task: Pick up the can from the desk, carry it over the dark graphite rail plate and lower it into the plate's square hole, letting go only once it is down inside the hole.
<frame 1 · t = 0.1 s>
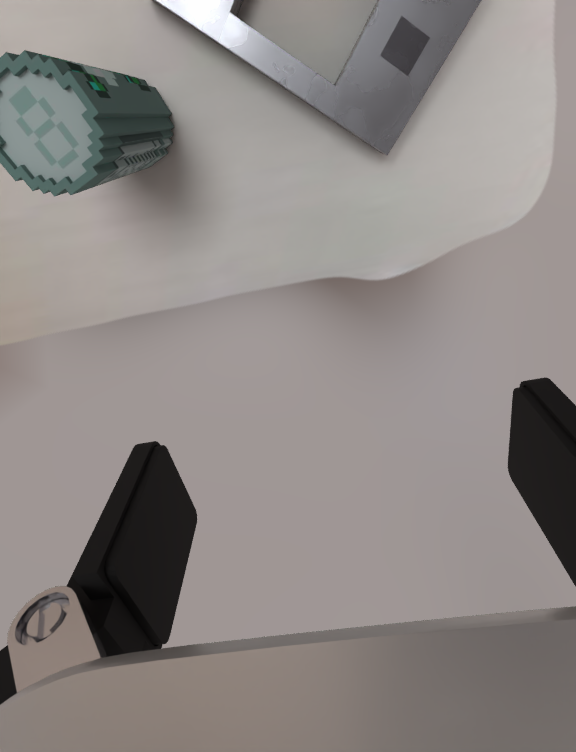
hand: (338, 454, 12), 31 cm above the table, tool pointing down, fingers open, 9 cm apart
can: (135, 123, 35), on the table
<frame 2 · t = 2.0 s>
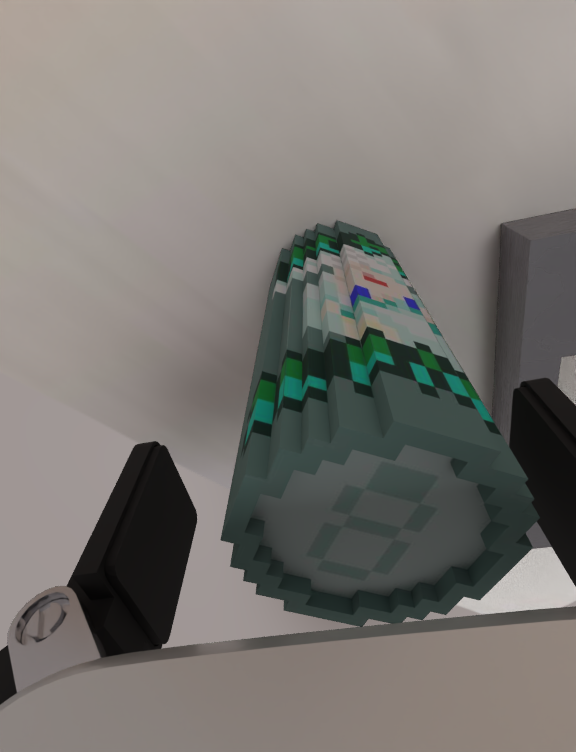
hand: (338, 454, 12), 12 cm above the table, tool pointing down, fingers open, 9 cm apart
can: (333, 285, 22), on the table
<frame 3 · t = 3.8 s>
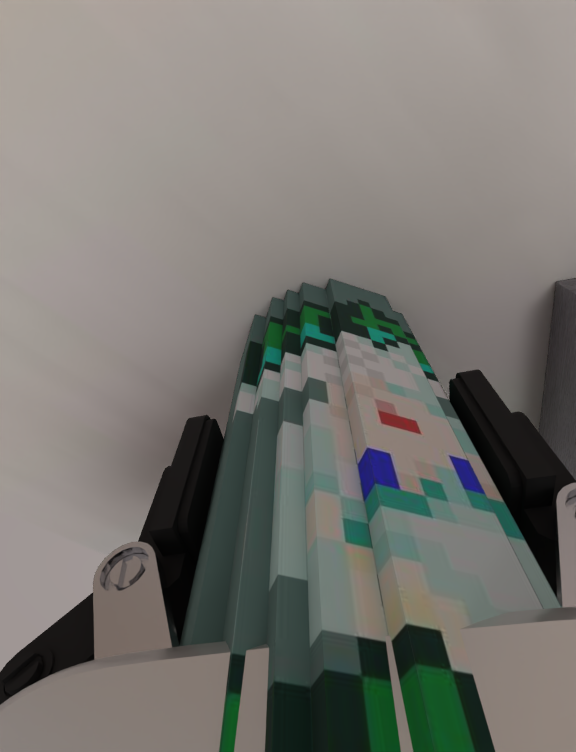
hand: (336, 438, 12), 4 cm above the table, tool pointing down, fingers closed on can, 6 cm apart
can: (325, 359, 16), on the table, touching gripper
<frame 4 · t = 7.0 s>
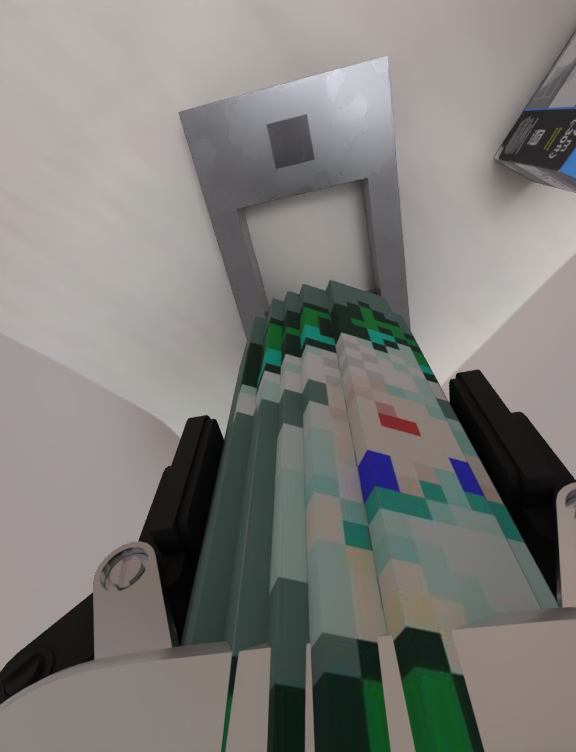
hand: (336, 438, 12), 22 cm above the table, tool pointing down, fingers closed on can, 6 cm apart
rail plate: (311, 247, 31), on the table
can: (325, 360, 16), point 18 cm above the table, touching gripper
label tape cartridge: (559, 101, 27), on the table
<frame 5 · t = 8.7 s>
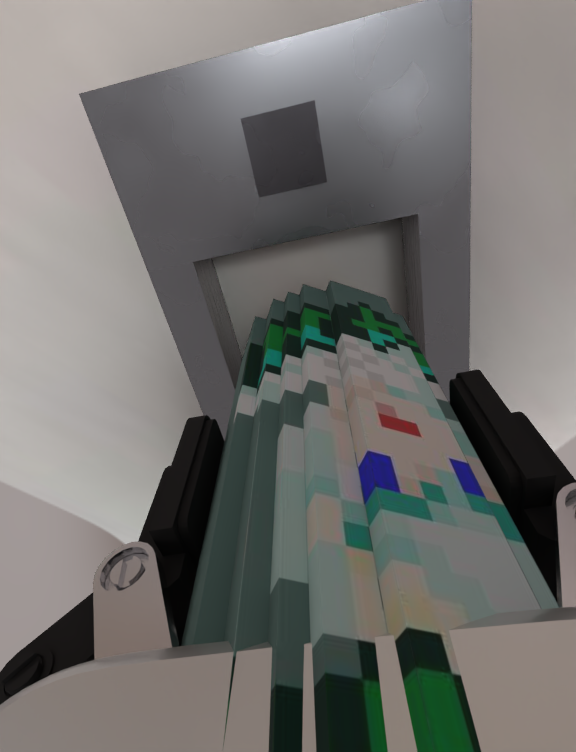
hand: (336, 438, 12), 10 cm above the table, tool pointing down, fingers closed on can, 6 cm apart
rail plate: (317, 311, 20), on the table
can: (326, 361, 16), point 5 cm above the table, touching gripper
when the fingers open (6 cm above the table, at t = 10.4 s): can drops 1 cm, resting in rail plate.
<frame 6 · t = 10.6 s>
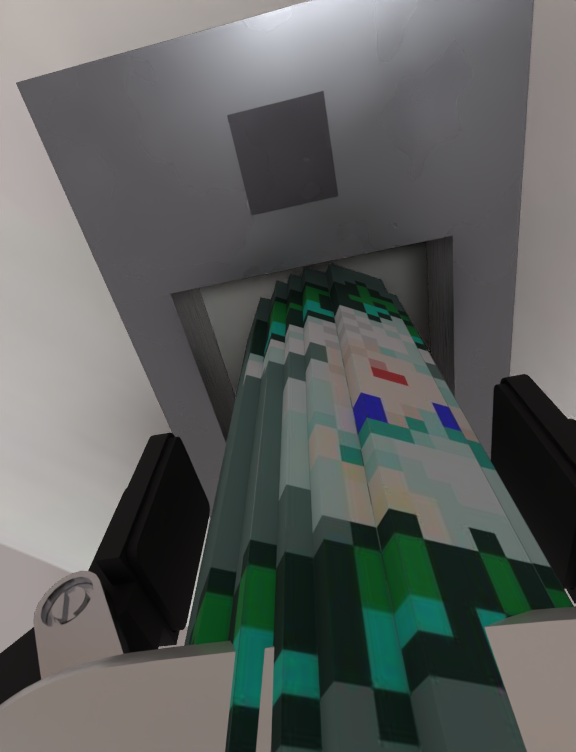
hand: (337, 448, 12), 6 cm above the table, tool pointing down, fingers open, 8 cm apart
rail plate: (323, 344, 17), on the table
can: (326, 339, 17), resting in rail plate
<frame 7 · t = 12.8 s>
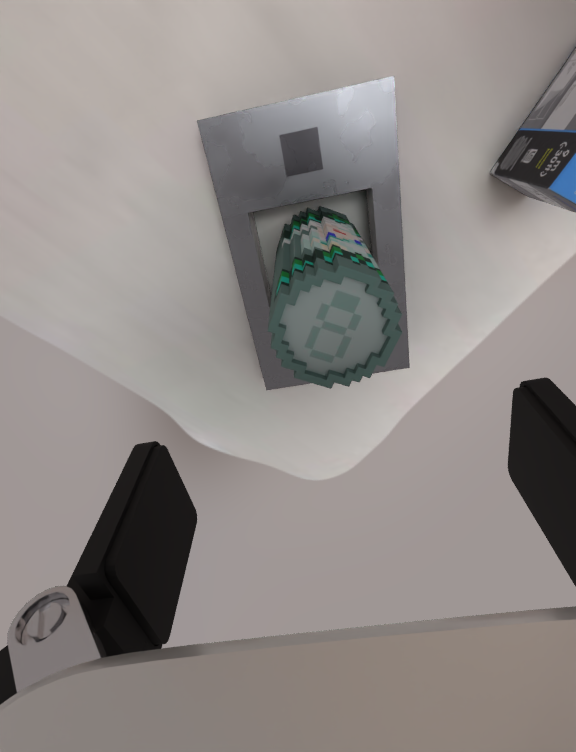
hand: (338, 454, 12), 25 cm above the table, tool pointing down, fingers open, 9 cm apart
rail plate: (316, 251, 33), on the table
can: (317, 248, 33), resting in rail plate
label tape cartridge: (552, 122, 29), on the table
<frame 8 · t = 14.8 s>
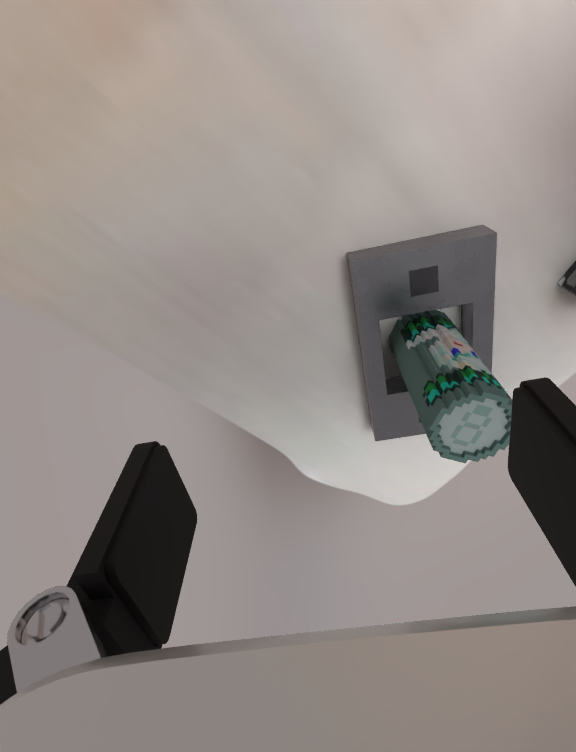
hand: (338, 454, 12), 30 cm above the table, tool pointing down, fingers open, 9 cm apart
rail plate: (419, 337, 43), on the table
can: (420, 336, 43), resting in rail plate
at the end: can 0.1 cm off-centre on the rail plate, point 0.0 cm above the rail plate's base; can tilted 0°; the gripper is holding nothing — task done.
